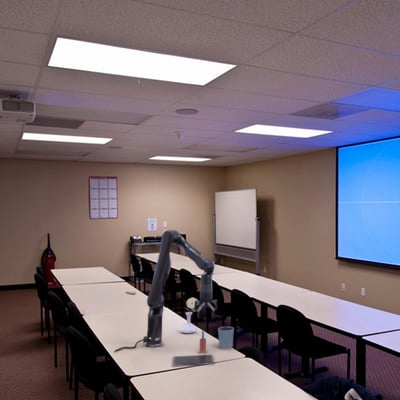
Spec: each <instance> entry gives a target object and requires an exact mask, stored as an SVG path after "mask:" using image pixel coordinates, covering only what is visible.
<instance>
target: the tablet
mask: <svg viewBox="0 0 400 400" xmlns="http://www.w3.org/2000/svg"><path fill="white" fill-rule="evenodd" d="M172 365H173V367H186V366H203V365H205V366H206V365H214V359H213V355H212V354H199V355H198V354H197V355H179V356H178V355H177V356H173V364H172Z"/></svg>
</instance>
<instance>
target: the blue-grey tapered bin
mask: <svg viewBox="0 0 400 400" xmlns="http://www.w3.org/2000/svg"><path fill="white" fill-rule="evenodd" d="M234 331H235V328H234V327H233V326H220V327H218V328H217V332H218V347H219V348H220V349H223V350H224V349H225V350H227V349H228V350H229V349H232V348H233V346H234V333H235V332H234Z"/></svg>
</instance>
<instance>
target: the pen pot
mask: <svg viewBox="0 0 400 400" xmlns="http://www.w3.org/2000/svg"><path fill="white" fill-rule="evenodd" d="M198 348H199V351H198V352H199V353H201V354H202V353H203V354H204V353H206V352H207V339H206V338H204V340H202V338H199V347H198Z"/></svg>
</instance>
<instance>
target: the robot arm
mask: <svg viewBox="0 0 400 400" xmlns="http://www.w3.org/2000/svg"><path fill="white" fill-rule="evenodd" d="M172 245H175V246H177V247H179V248H180V249H181V250H182V251H183V253H184V254H185V256H186V257H187V258H188V259H190V260H191V261H192V262H193V263H194V264H195V266H196V267H197V268H198V269H199V270H201V271H203V274H201V275H200V286H199V287H200V288H199V300H197V301H196V300H195V307H194V310H195V311H196V313H197V314H196V317H197V318H199V319H200V318H201V317H200V315H201V314H200V313H201V310H202V309H203V308H204V309H205V308H206V309H207V308H210V309H211V318H214V317H215V312H216V311H217V310H218V309H219V308H218V300H217V299H215V300H213V275H214V271H215V262H214V259H212V258H210V257H209V258H204V255H203V253H202V252H201V251H199V250H198V249H196V248H195V247H194V246H193V245H192V244H190V243H189V242H188V241H187V240H186V239H185V238H184V237H183V235H182V234H181V233H180V232H179V231H178V230H176V229H175V230H173V229H166V230H165V231H163V233H162V237H161V241H160V246H159V247H160V248H159V252H158V257H157V261H156V265H155V268H154V273H153V278H152V283H151V288H150V290H149V293H148V296H147V299H146V305H147V306H148V308H149V309H148V313H147V331H146V335H144V336H143V338H142V339H139V340H138V341H136V343H135V344H134V346H122V347H121V346H120V347H119V348H117V349H114V352H117V351H120V350H123V349H135V348H136V347H137V346H138V344H139V343H141V342H143V344H146V347H153V348H154V347H155V348H156V347H160V346H162V345H163V314H164V306H165V301H164V300H165V298H164V295H163V290H164V287H165V285H166V282H167V280H168V278H169V275H170V271H171V268H172V261H171V249H172ZM213 304H214V306H215V307H214V306H213ZM198 305H199V306H198Z"/></svg>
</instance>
